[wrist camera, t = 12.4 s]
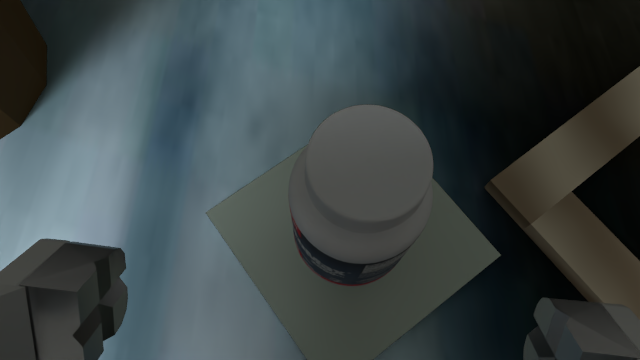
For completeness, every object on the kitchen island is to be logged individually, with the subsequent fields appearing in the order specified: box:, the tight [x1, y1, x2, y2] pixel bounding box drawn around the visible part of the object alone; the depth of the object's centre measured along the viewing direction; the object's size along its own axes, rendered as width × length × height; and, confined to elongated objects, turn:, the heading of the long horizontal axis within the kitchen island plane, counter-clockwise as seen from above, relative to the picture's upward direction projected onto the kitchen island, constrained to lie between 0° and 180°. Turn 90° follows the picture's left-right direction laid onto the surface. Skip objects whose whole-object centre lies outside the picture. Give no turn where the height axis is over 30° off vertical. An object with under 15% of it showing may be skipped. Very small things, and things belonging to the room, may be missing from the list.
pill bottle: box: [288, 105, 433, 287], centre depth 19 cm, size 5×5×9 cm
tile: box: [206, 104, 501, 360], centre depth 24 cm, size 10×10×1 cm
